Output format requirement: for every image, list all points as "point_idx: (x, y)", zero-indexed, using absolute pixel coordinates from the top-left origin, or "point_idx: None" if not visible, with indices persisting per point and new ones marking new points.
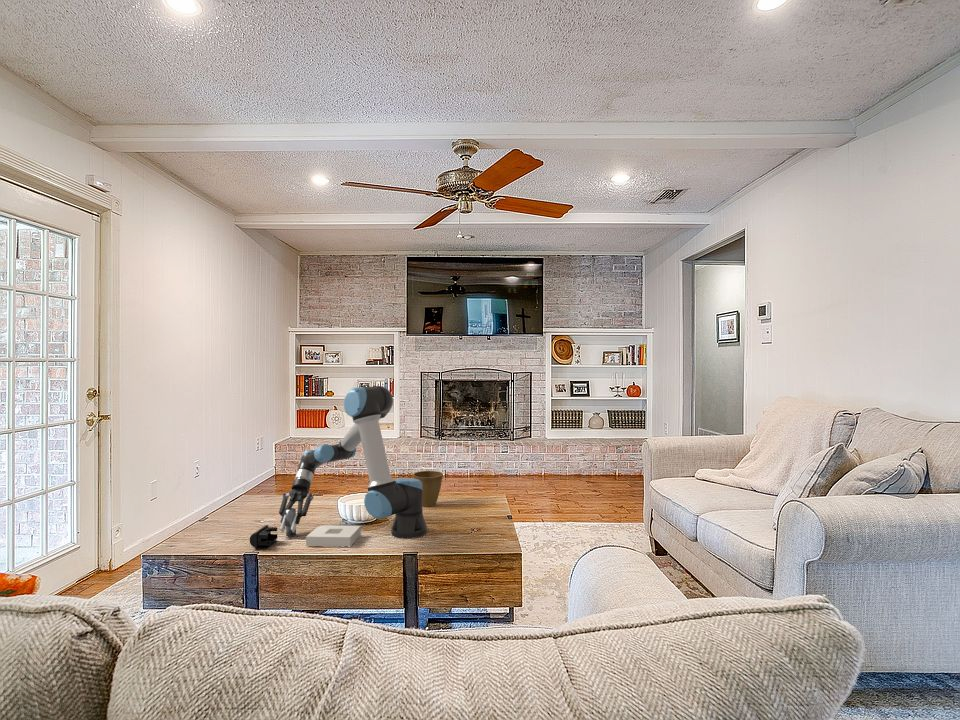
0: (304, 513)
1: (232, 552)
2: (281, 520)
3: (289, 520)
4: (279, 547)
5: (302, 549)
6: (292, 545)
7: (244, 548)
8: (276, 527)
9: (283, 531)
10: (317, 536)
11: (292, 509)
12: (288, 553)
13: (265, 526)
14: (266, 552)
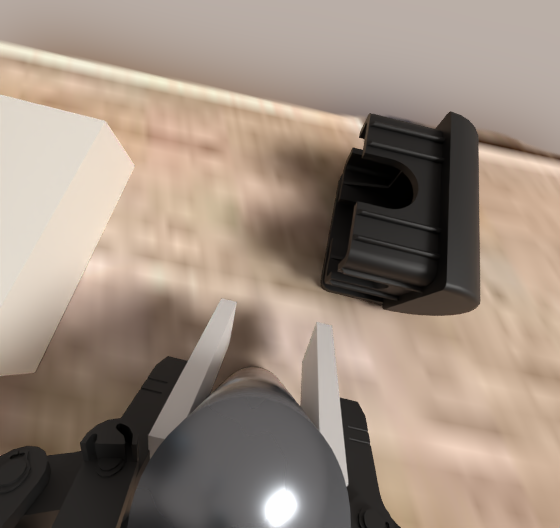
0: (4, 467)
1: (494, 172)
2: (357, 424)
3: (255, 377)
4: (282, 186)
5: (154, 133)
6: (215, 200)
7: None
8: (350, 246)
9: (303, 359)
10: (24, 104)
11: (200, 513)
12: (220, 102)
13: (451, 243)
14: (330, 137)
